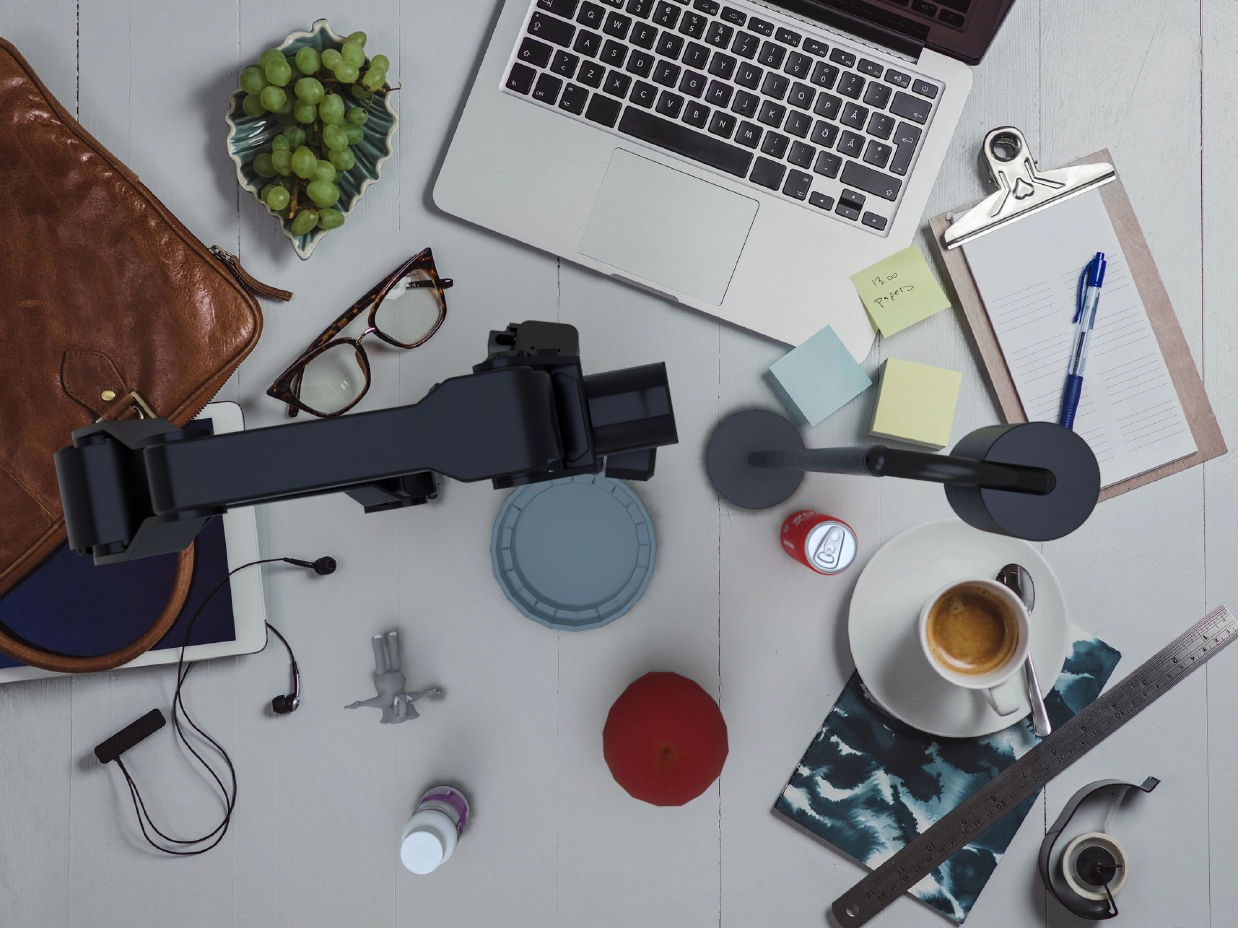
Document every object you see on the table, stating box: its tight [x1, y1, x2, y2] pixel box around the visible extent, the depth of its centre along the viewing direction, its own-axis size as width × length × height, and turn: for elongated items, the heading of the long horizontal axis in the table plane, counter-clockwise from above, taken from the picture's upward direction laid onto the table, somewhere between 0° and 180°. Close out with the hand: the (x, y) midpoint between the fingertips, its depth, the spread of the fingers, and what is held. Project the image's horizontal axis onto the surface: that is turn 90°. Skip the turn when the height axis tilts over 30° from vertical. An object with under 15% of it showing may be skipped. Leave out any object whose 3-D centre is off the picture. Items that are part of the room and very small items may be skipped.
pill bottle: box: [399, 785, 470, 875], centre depth 82 cm, size 5×5×10 cm
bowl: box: [489, 469, 658, 633], centre depth 84 cm, size 16×16×4 cm
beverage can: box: [779, 509, 859, 576], centre depth 80 cm, size 5×5×12 cm
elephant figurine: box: [343, 631, 441, 725], centre depth 84 cm, size 10×6×9 cm
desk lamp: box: [704, 409, 1102, 543], centre depth 63 cm, size 16×10×45 cm, turn 83°
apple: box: [602, 671, 730, 808], centre depth 79 cm, size 12×12×13 cm
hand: (552, 435), depth 76 cm, fingers closed on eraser, 3 cm apart
